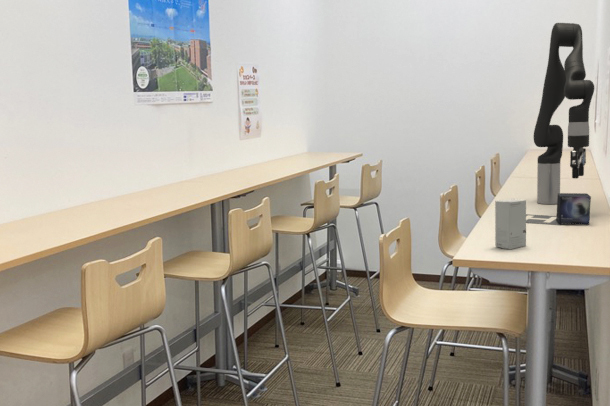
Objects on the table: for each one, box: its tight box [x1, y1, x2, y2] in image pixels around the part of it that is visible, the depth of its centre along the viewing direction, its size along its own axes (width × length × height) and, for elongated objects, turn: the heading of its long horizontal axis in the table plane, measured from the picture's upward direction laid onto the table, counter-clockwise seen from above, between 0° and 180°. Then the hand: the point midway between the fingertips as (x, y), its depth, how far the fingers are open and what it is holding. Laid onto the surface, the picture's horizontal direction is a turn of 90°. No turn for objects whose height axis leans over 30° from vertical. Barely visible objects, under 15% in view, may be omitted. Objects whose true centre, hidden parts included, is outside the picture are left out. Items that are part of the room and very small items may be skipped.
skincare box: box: [494, 198, 527, 250], centre depth 219 cm, size 8×6×15 cm
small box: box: [556, 192, 592, 226], centre depth 252 cm, size 11×6×10 cm, turn 80°
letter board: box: [526, 213, 562, 226], centre depth 263 cm, size 17×20×1 cm
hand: (578, 177), depth 264 cm, fingers open, 8 cm apart
